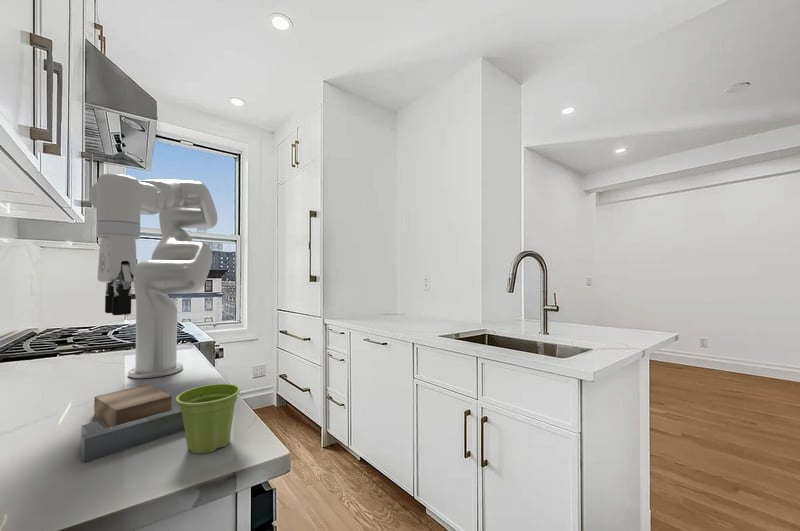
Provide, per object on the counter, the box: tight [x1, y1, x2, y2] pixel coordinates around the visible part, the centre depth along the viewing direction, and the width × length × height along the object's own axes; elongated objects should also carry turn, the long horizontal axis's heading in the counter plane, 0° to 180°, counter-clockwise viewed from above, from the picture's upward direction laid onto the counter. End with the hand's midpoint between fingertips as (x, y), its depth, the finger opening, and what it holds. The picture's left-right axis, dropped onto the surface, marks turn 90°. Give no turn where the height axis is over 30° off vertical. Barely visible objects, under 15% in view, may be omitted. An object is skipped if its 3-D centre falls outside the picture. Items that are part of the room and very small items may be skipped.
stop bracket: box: [80, 407, 185, 463], centre depth 63 cm, size 8×20×4 cm, turn 142°
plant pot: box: [175, 383, 241, 455], centre depth 58 cm, size 9×9×9 cm
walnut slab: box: [93, 384, 173, 427], centre depth 70 cm, size 12×9×4 cm
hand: (117, 312), depth 77 cm, fingers open, 4 cm apart
